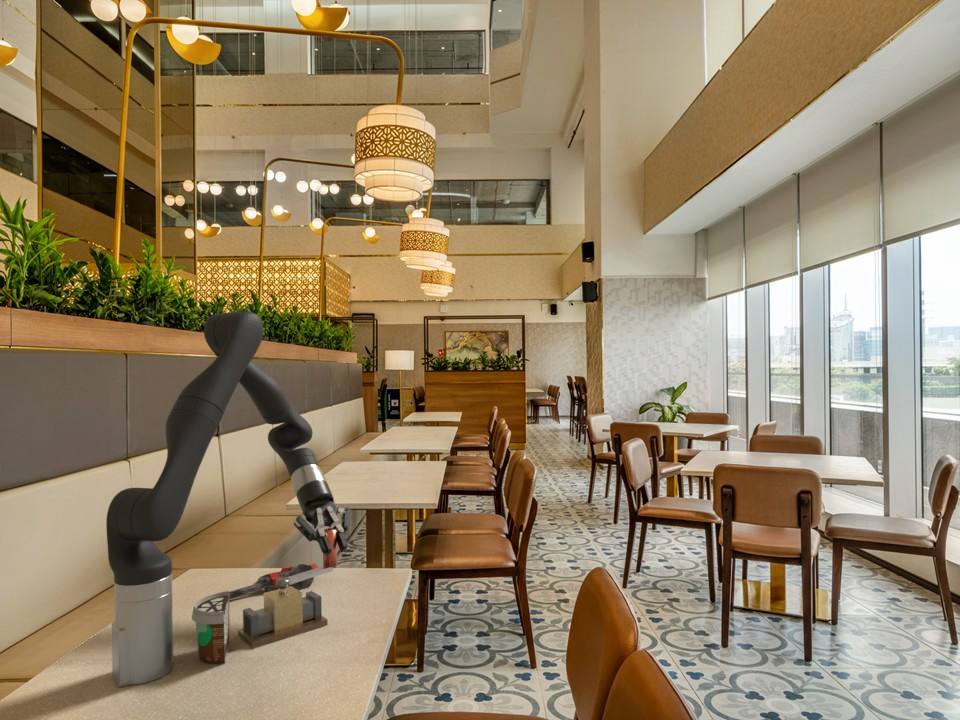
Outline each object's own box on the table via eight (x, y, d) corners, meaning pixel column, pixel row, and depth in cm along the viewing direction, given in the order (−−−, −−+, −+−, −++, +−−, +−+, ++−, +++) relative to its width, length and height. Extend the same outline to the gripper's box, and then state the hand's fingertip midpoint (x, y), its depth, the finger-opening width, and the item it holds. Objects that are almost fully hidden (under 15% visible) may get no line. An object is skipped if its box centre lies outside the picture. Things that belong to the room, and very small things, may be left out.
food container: (197, 644, 122) (196, 594, 122) (230, 639, 123) (229, 589, 124) (187, 672, 110) (186, 617, 110) (224, 667, 112) (223, 612, 112)
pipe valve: (252, 648, 119) (251, 602, 119) (237, 635, 125) (237, 591, 125) (327, 625, 129) (326, 582, 130) (310, 614, 135) (310, 573, 136)
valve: (305, 577, 167) (328, 583, 155) (205, 607, 150) (222, 615, 139) (302, 554, 167) (325, 558, 156) (202, 580, 151) (219, 587, 140)
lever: (280, 589, 125) (280, 544, 126) (272, 586, 127) (272, 542, 127) (339, 570, 137) (339, 529, 137) (331, 567, 139) (331, 527, 139)
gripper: (287, 483, 137) (312, 549, 128) (343, 474, 146) (370, 536, 137) (278, 502, 141) (301, 568, 132) (333, 493, 150) (359, 554, 141)
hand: (336, 551), depth 134 cm, fingers open, 3 cm apart
